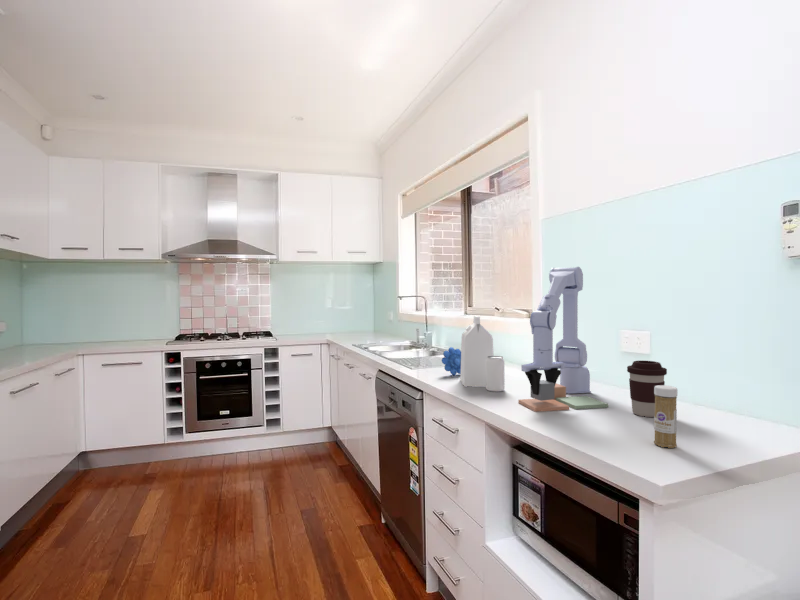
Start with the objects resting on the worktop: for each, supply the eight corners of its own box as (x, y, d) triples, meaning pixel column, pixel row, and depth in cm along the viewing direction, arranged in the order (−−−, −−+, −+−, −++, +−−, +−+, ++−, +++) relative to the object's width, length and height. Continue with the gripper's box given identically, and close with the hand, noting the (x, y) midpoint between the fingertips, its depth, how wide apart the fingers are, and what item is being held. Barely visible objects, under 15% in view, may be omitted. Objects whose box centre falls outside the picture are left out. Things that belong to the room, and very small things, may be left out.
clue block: (556, 394, 155) (556, 383, 155) (565, 398, 149) (565, 386, 149) (540, 395, 154) (539, 384, 154) (549, 399, 148) (549, 387, 148)
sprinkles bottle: (652, 446, 103) (652, 387, 103) (656, 440, 106) (656, 383, 106) (675, 450, 100) (675, 389, 100) (678, 445, 104) (679, 386, 103)
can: (504, 392, 160) (504, 358, 159) (486, 391, 161) (485, 357, 161) (504, 388, 166) (504, 355, 166) (486, 387, 167) (486, 355, 167)
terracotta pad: (550, 401, 146) (550, 397, 146) (569, 409, 135) (569, 406, 135) (518, 402, 144) (518, 399, 144) (535, 411, 133) (535, 408, 133)
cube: (543, 395, 143) (543, 380, 143) (554, 399, 139) (554, 382, 138) (530, 397, 141) (530, 381, 141) (541, 400, 137) (541, 384, 137)
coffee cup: (670, 414, 130) (670, 361, 130) (661, 421, 123) (661, 365, 122) (633, 408, 137) (633, 358, 136) (622, 414, 129) (622, 362, 129)
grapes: (446, 377, 187) (446, 348, 187) (439, 375, 194) (439, 347, 193) (471, 375, 192) (471, 347, 192) (462, 373, 198) (462, 345, 198)
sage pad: (586, 398, 149) (586, 395, 149) (608, 407, 138) (608, 403, 138) (555, 400, 147) (555, 397, 147) (575, 409, 136) (575, 405, 136)
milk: (495, 386, 170) (494, 317, 169) (464, 386, 170) (463, 317, 169) (489, 380, 182) (488, 315, 181) (460, 380, 182) (460, 315, 181)
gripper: (553, 346, 146) (553, 388, 146) (515, 349, 141) (515, 392, 141) (568, 349, 139) (568, 393, 140) (529, 351, 134) (529, 397, 134)
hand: (543, 393), depth 140 cm, fingers closed on cube, 5 cm apart
